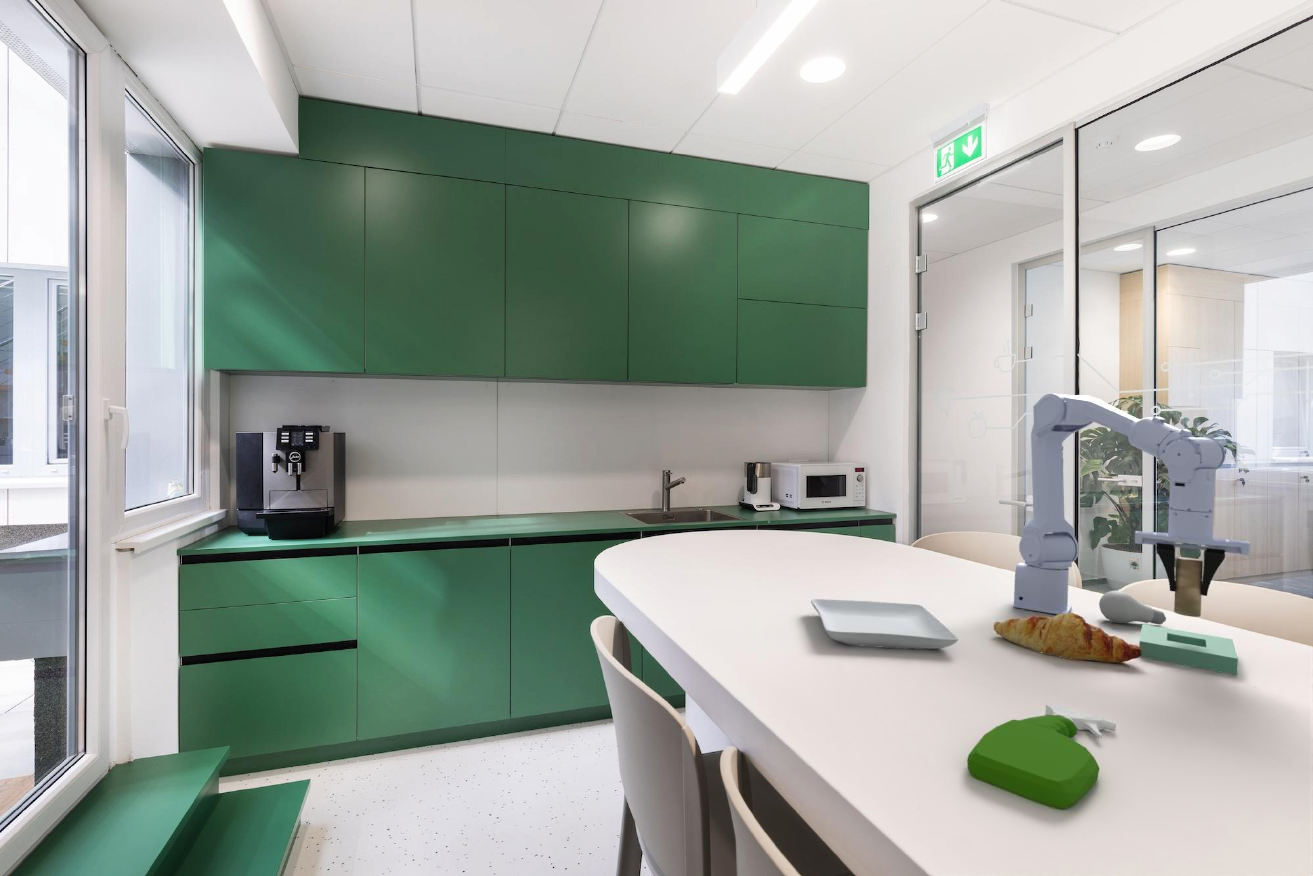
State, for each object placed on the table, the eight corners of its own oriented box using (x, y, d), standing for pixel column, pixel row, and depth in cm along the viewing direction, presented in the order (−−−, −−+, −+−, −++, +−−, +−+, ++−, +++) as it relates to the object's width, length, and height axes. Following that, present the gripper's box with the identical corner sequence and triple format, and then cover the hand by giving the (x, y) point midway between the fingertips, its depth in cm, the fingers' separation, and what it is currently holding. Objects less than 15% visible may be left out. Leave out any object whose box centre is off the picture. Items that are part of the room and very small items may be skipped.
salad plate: (920, 619, 126) (921, 602, 126) (960, 658, 104) (961, 637, 104) (809, 614, 128) (809, 596, 128) (826, 651, 107) (826, 630, 107)
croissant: (988, 660, 113) (983, 624, 110) (1001, 622, 120) (996, 587, 117) (1140, 691, 100) (1139, 652, 97) (1144, 646, 106) (1143, 608, 104)
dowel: (1174, 614, 107) (1176, 559, 107) (1173, 609, 110) (1175, 556, 109) (1201, 618, 105) (1203, 562, 105) (1199, 613, 108) (1201, 559, 107)
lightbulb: (1161, 600, 126) (1098, 583, 129) (1177, 607, 120) (1111, 589, 123) (1153, 630, 126) (1090, 613, 129) (1169, 639, 120) (1103, 621, 123)
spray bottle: (957, 776, 69) (1030, 711, 86) (1075, 822, 61) (1130, 741, 78) (958, 748, 69) (1031, 689, 86) (1076, 791, 61) (1131, 717, 78)
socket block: (1138, 656, 106) (1139, 640, 106) (1141, 638, 116) (1142, 624, 116) (1237, 674, 99) (1237, 658, 99) (1231, 654, 108) (1232, 639, 108)
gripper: (1135, 508, 108) (1132, 589, 109) (1253, 517, 99) (1249, 605, 99) (1137, 504, 114) (1134, 581, 114) (1248, 512, 105) (1245, 596, 105)
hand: (1188, 592), depth 107 cm, fingers closed on dowel, 3 cm apart
